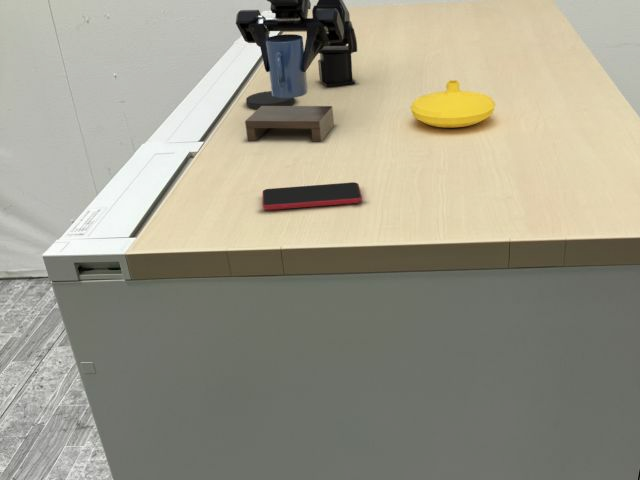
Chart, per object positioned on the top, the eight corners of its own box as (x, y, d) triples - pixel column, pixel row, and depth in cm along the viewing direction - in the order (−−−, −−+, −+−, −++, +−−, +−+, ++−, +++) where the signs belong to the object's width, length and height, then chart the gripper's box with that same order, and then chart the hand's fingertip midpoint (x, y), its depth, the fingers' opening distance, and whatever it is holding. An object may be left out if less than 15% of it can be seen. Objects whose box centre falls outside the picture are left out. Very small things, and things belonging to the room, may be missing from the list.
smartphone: (362, 198, 124) (262, 205, 123) (362, 204, 124) (263, 211, 123) (358, 181, 129) (262, 189, 128) (358, 187, 130) (263, 194, 129)
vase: (435, 140, 147) (435, 97, 142) (396, 119, 158) (395, 79, 153) (511, 125, 151) (513, 84, 147) (467, 106, 163) (468, 67, 158)
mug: (277, 88, 154) (271, 34, 148) (311, 88, 153) (306, 33, 147) (264, 100, 148) (257, 44, 142) (299, 100, 147) (294, 44, 141)
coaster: (289, 94, 176) (288, 88, 175) (299, 106, 169) (298, 99, 168) (243, 100, 174) (242, 94, 174) (251, 112, 167) (250, 106, 166)
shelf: (263, 125, 159) (261, 105, 157) (333, 125, 157) (332, 106, 155) (247, 140, 152) (244, 120, 150) (321, 141, 149) (319, 121, 147)
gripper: (230, -43, 142) (219, 42, 141) (334, -47, 139) (324, 41, 138) (251, 0, 153) (241, 80, 152) (348, -2, 150) (339, 80, 149)
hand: (284, 70), depth 148 cm, fingers closed on mug, 6 cm apart
